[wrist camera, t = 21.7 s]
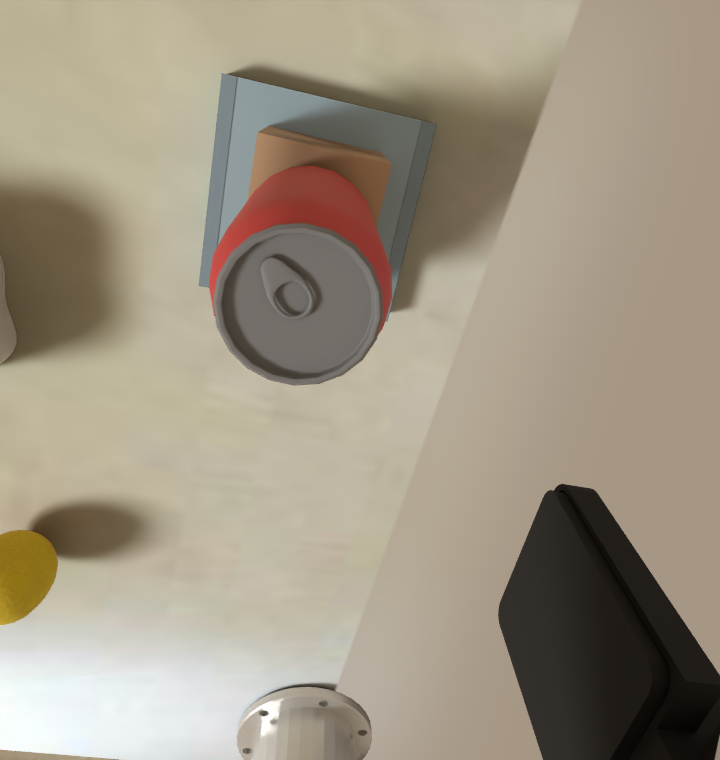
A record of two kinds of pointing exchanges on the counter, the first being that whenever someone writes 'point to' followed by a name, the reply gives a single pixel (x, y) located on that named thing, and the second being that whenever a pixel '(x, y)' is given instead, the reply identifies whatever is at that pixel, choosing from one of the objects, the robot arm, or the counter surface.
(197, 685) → the counter surface
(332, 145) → the wooden block
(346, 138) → the plate
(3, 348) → the lumpy-topped squat cylinder
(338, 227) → the beer can
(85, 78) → the counter surface
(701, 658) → the robot arm
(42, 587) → the lemon
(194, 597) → the counter surface
